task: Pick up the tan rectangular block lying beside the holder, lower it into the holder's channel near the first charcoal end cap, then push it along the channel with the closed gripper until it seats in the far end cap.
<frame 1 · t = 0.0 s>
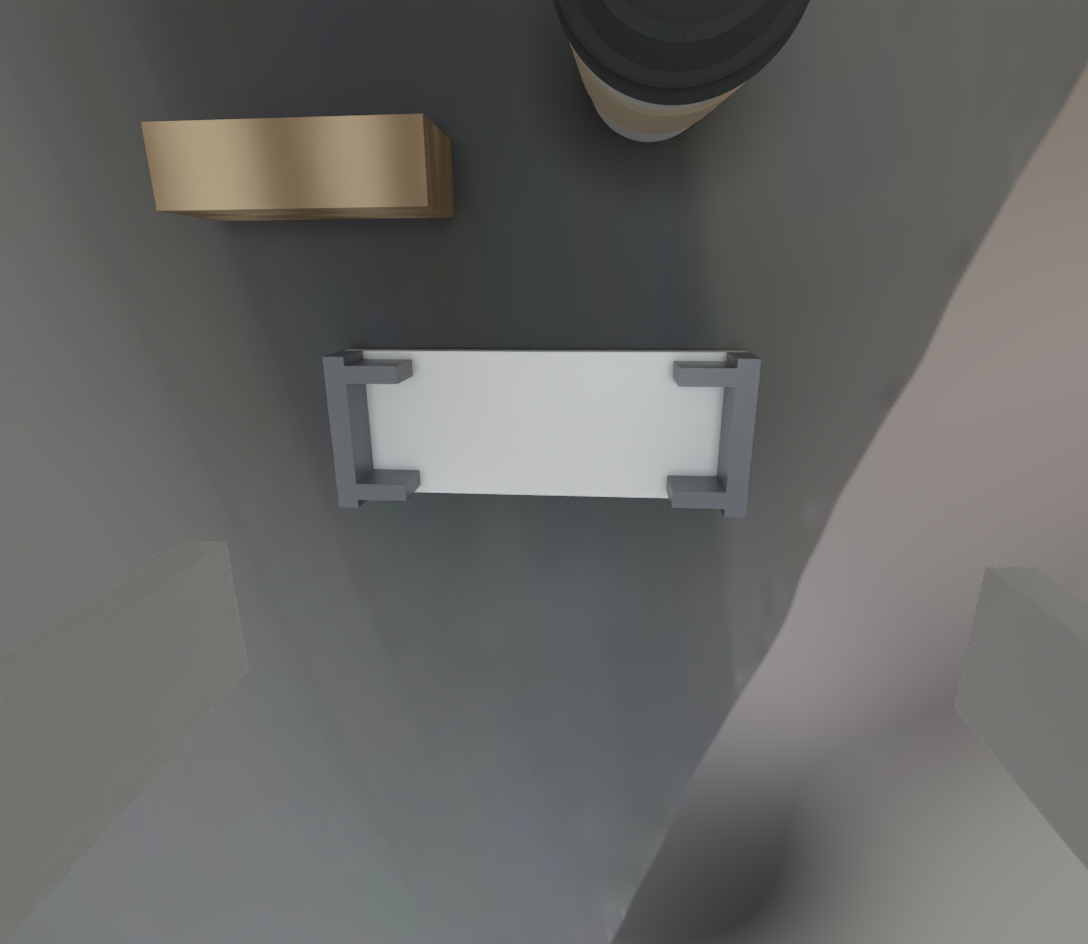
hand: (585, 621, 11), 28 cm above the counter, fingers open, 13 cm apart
coffee cup: (652, 72, 33), on the counter
tan rectangular block: (334, 182, 36), on the counter
holder: (542, 422, 39), on the counter
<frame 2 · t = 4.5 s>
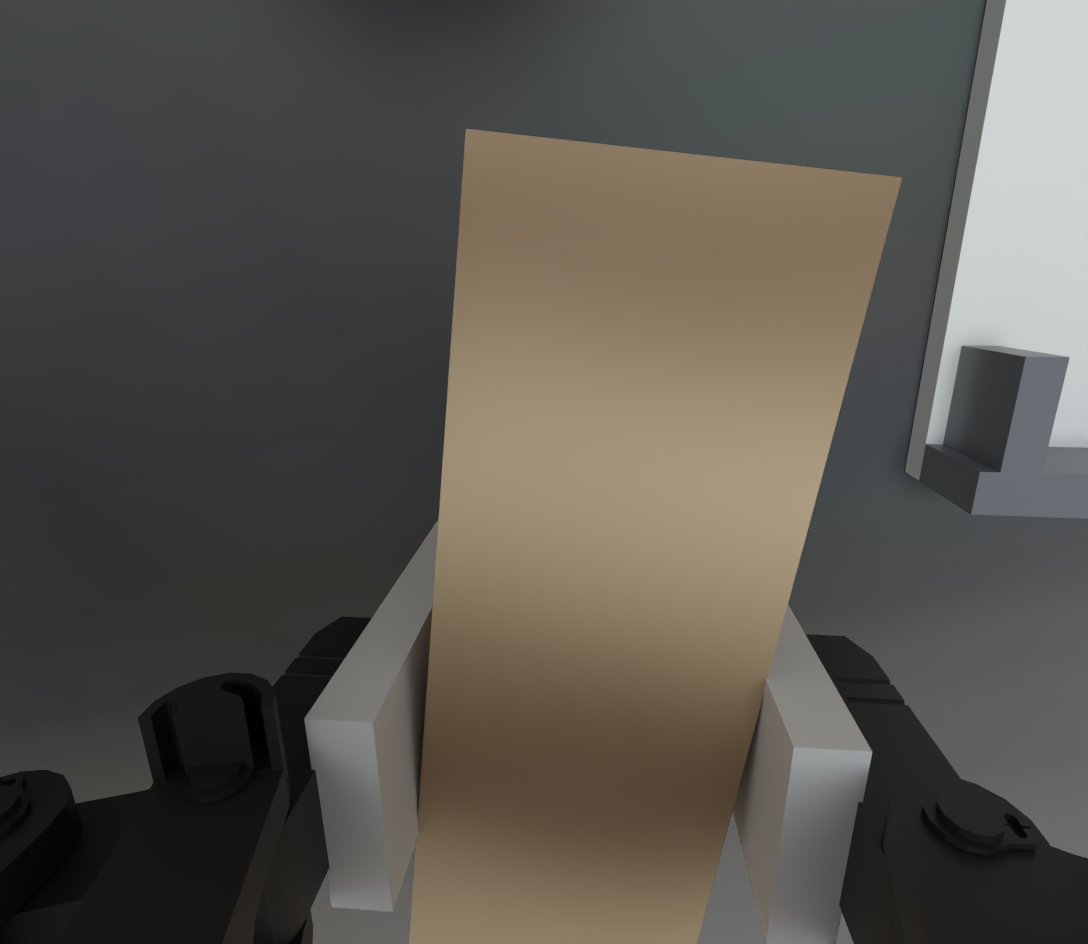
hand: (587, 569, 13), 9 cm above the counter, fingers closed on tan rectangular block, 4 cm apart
tan rectangular block: (587, 560, 13), point 8 cm above the counter, touching gripper
when the fingers open (2 cm above the counter, at t = 8.4 s): tan rectangular block stays where it is, resting on holder.
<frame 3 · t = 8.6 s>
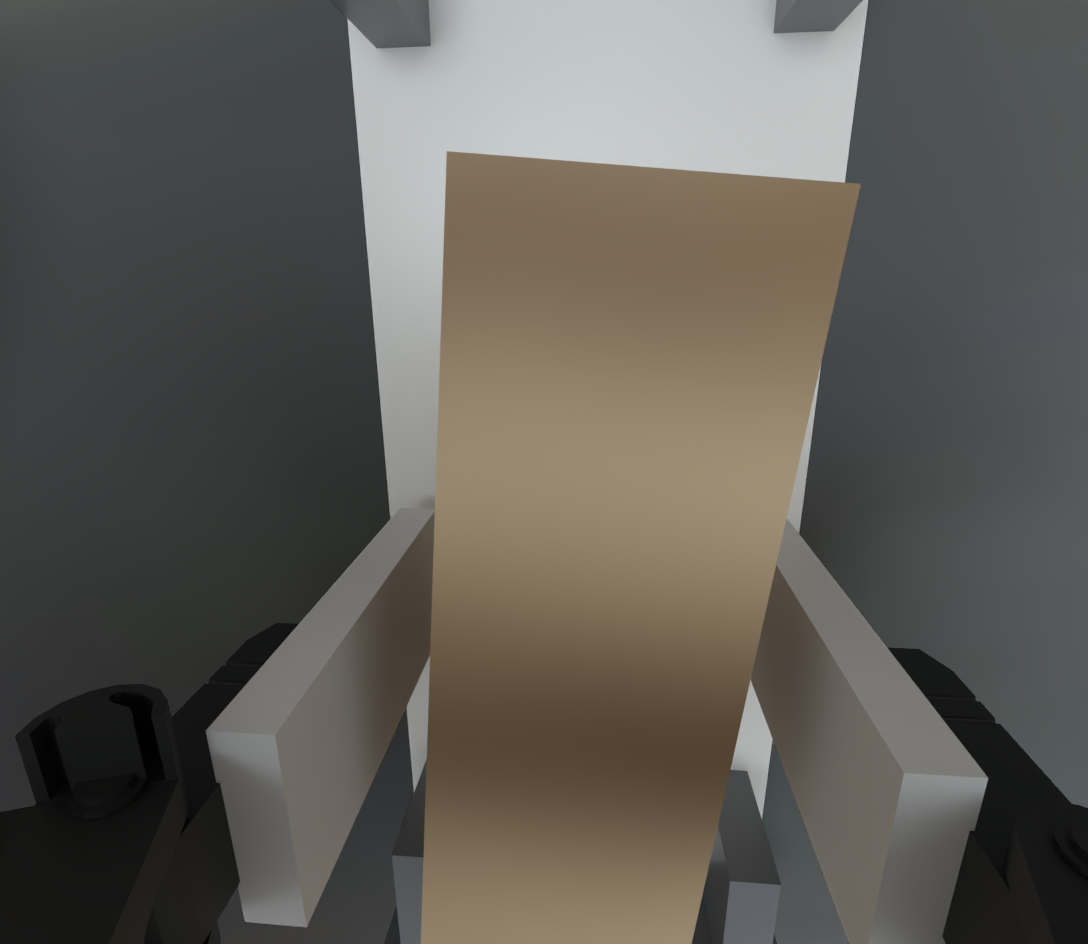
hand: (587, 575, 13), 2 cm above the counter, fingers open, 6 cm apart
tan rectangular block: (586, 555, 14), point 1 cm above the counter, touching holder
holder: (590, 452, 14), on the counter
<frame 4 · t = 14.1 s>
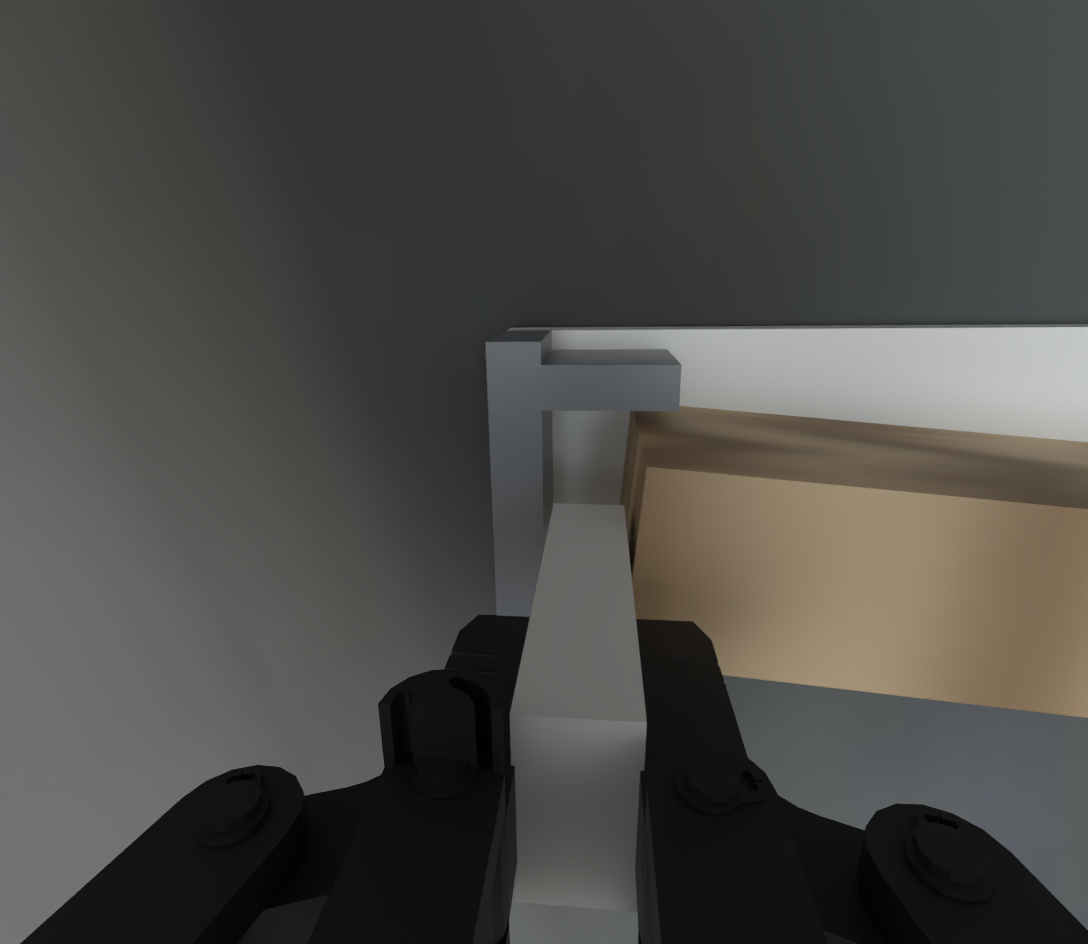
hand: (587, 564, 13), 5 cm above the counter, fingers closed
tan rectangular block: (883, 497, 17), point 1 cm above the counter, touching gripper, holder
holder: (937, 488, 17), on the counter
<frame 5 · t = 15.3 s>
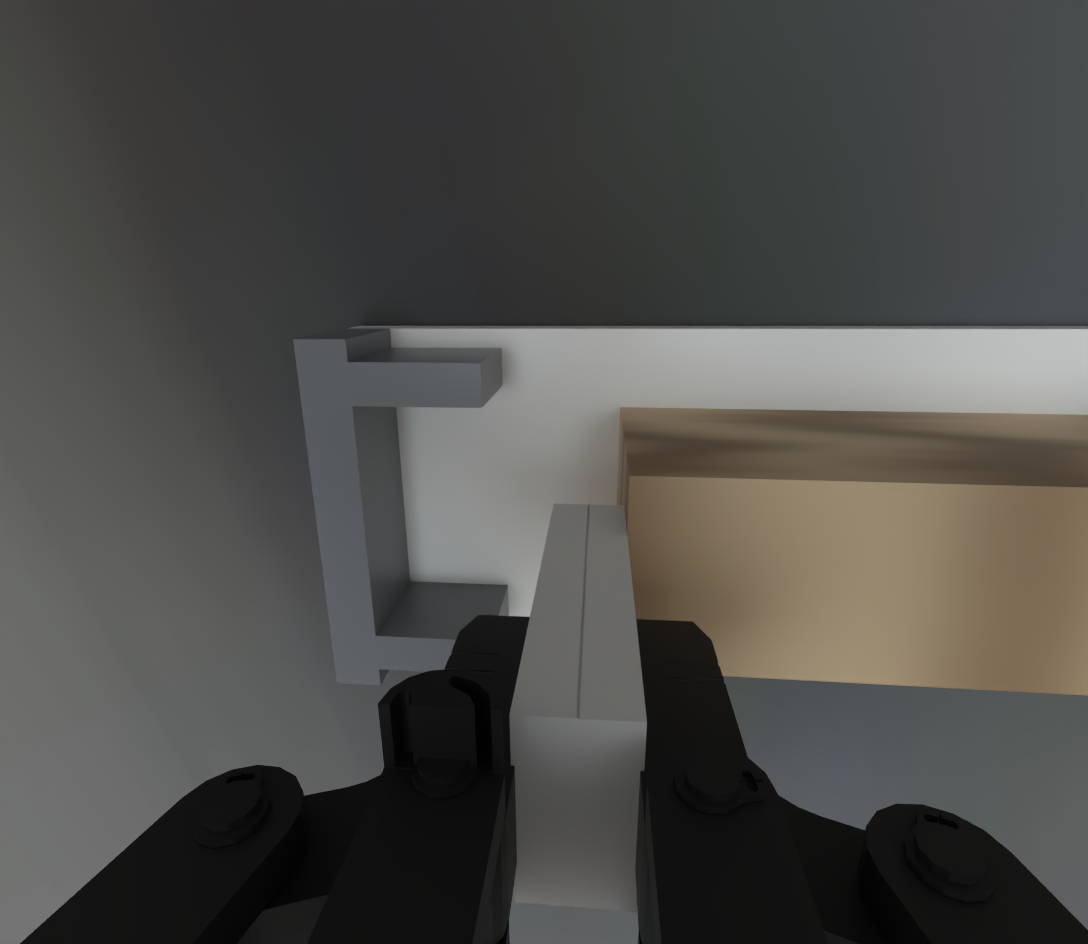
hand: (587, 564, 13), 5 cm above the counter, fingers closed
tan rectangular block: (880, 484, 16), point 1 cm above the counter, touching gripper, holder
holder: (777, 485, 18), on the counter
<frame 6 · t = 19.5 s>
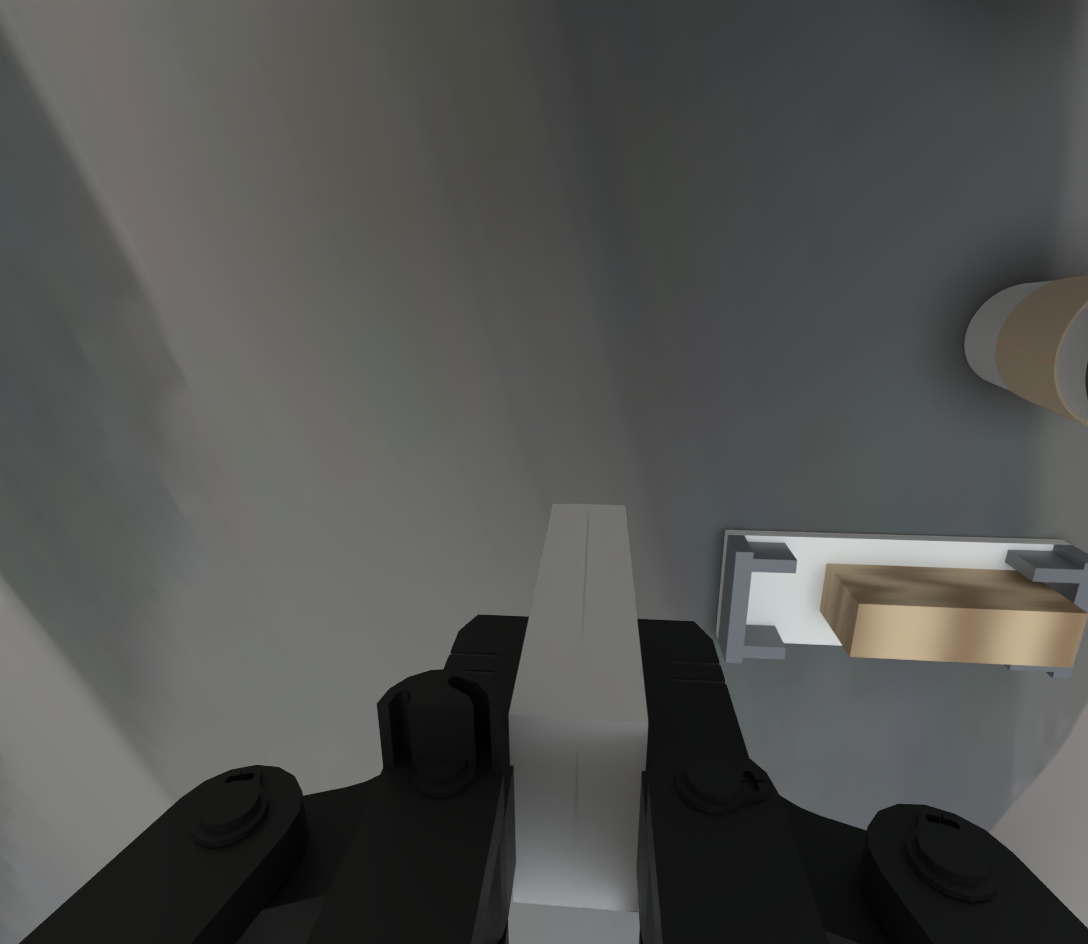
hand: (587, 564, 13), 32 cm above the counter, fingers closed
coffee cup: (1017, 335, 41), on the counter
tan rectangular block: (920, 591, 46), point 1 cm above the counter, touching holder
holder: (880, 588, 47), on the counter
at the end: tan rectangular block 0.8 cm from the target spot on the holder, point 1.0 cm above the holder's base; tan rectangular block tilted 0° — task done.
